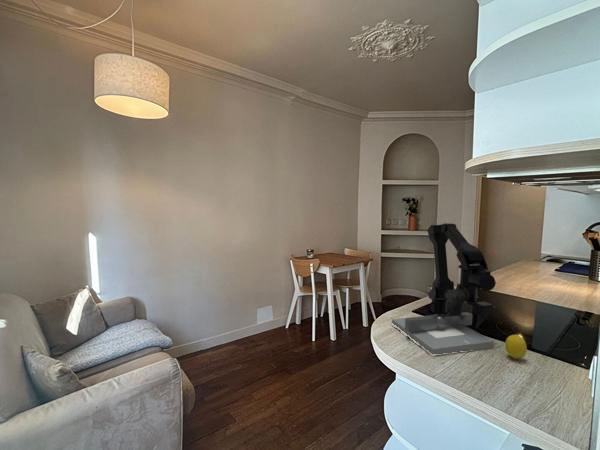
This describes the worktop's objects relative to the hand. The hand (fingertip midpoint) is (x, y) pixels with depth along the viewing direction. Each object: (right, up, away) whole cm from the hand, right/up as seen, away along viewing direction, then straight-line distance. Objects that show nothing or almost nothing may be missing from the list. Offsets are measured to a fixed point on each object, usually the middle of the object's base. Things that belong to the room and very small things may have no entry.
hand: (466, 323), depth 112 cm
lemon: (+6, -6, -18) cm, 19 cm away
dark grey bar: (-12, 0, -3) cm, 12 cm away
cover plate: (-12, -4, -3) cm, 13 cm away
